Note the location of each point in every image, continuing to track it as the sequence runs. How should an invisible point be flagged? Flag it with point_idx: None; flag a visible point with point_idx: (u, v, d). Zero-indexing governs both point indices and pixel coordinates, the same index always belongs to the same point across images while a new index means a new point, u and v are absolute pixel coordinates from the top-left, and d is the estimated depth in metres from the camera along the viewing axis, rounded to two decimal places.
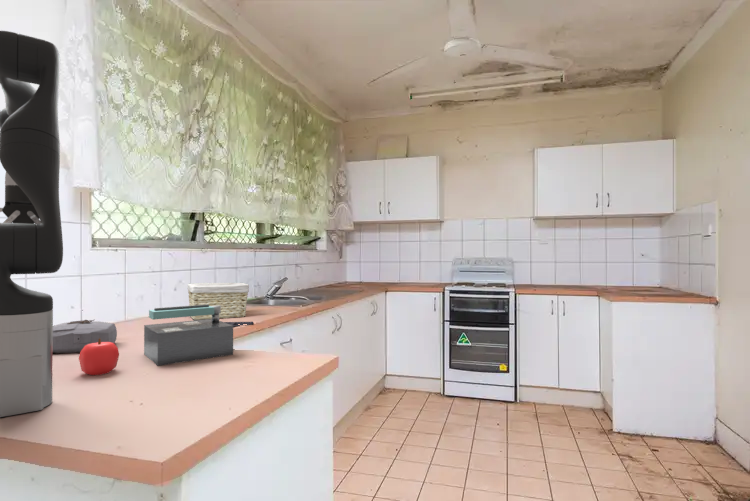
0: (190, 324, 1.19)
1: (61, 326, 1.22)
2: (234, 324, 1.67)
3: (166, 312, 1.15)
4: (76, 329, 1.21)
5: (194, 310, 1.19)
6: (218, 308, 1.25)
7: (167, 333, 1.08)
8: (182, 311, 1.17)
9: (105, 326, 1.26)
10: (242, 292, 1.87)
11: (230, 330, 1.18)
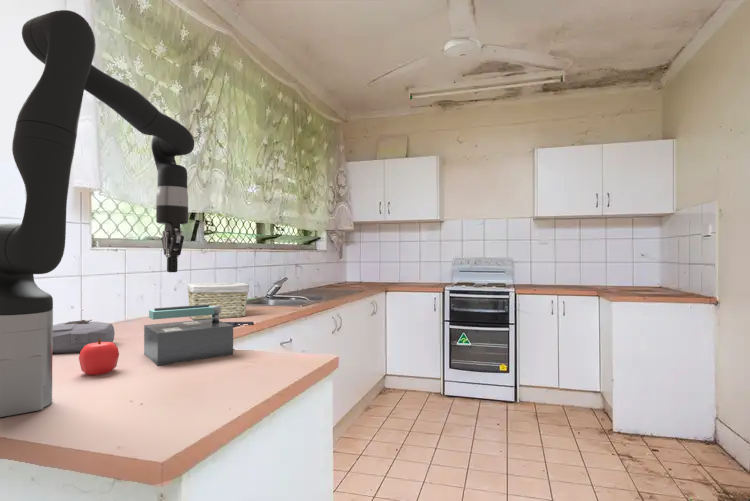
0: (190, 324, 1.19)
1: (58, 326, 1.22)
2: (234, 324, 1.67)
3: (166, 312, 1.15)
4: (74, 329, 1.21)
5: (194, 310, 1.19)
6: (218, 308, 1.25)
7: (167, 333, 1.08)
8: (182, 311, 1.17)
9: (103, 326, 1.26)
10: (242, 292, 1.88)
11: (230, 330, 1.18)
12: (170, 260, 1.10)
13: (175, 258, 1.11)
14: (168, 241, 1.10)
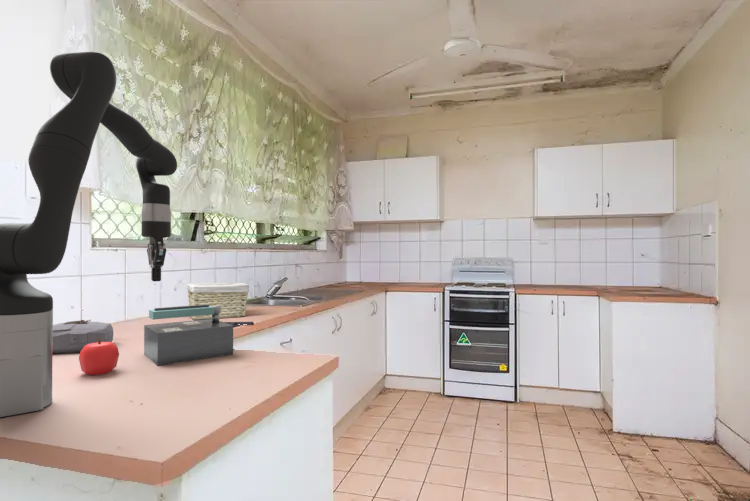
0: (190, 324, 1.19)
1: (57, 326, 1.22)
2: (234, 324, 1.67)
3: (166, 312, 1.15)
4: (72, 329, 1.21)
5: (194, 310, 1.19)
6: (218, 308, 1.25)
7: (167, 333, 1.08)
8: (182, 311, 1.17)
9: (102, 326, 1.26)
10: (242, 292, 1.88)
11: (230, 330, 1.18)
12: (154, 270, 1.22)
13: (159, 268, 1.22)
14: (152, 253, 1.21)
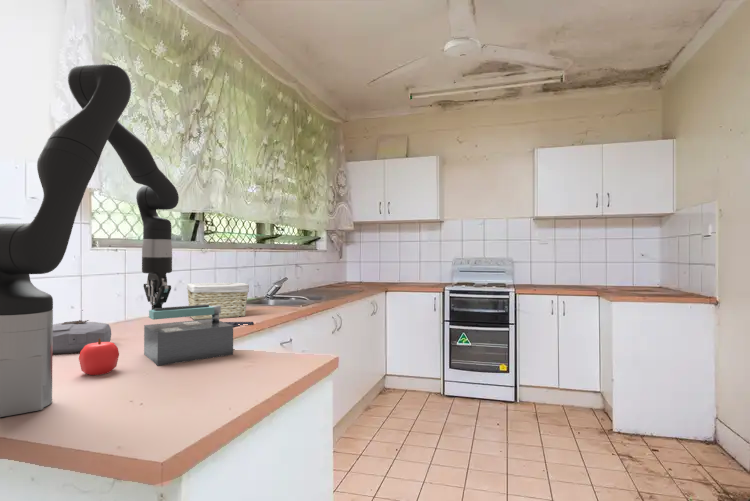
0: (190, 324, 1.19)
1: (55, 327, 1.21)
2: (234, 324, 1.67)
3: (166, 312, 1.15)
4: (71, 329, 1.21)
5: (194, 310, 1.19)
6: (218, 308, 1.25)
7: (167, 333, 1.08)
8: (182, 311, 1.17)
9: (100, 326, 1.26)
10: (242, 292, 1.88)
11: (230, 330, 1.18)
12: (155, 307, 1.19)
13: (160, 305, 1.19)
14: (154, 290, 1.18)
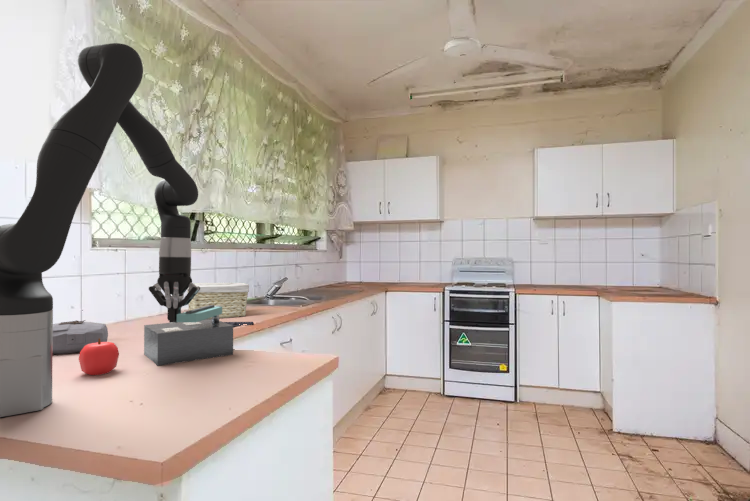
0: (190, 324, 1.19)
1: (53, 327, 1.20)
2: (234, 324, 1.67)
3: (201, 314, 1.12)
4: (69, 330, 1.20)
5: (214, 310, 1.19)
6: None
7: (167, 333, 1.08)
8: (208, 312, 1.16)
9: (98, 326, 1.26)
10: (242, 292, 1.89)
11: (230, 330, 1.18)
12: (177, 311, 1.11)
13: (180, 308, 1.12)
14: (178, 292, 1.10)
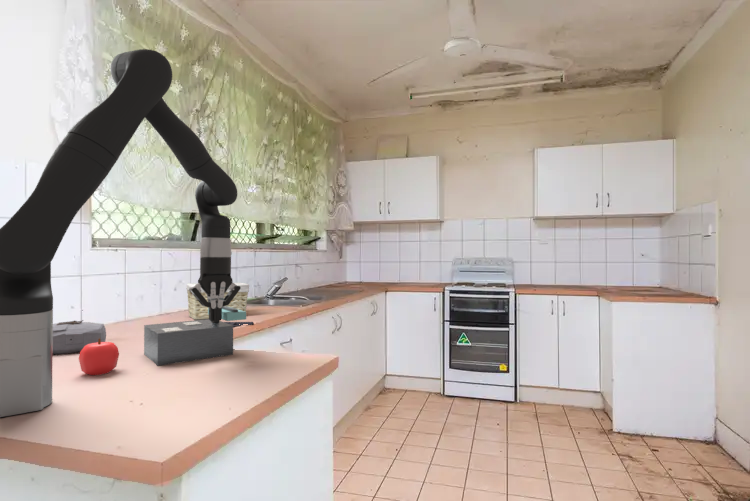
0: (190, 324, 1.19)
1: None
2: (234, 324, 1.67)
3: None
4: (68, 330, 1.20)
5: None
6: None
7: (167, 333, 1.08)
8: None
9: (96, 326, 1.26)
10: (242, 292, 1.89)
11: (230, 330, 1.18)
12: (220, 310, 1.12)
13: None
14: None
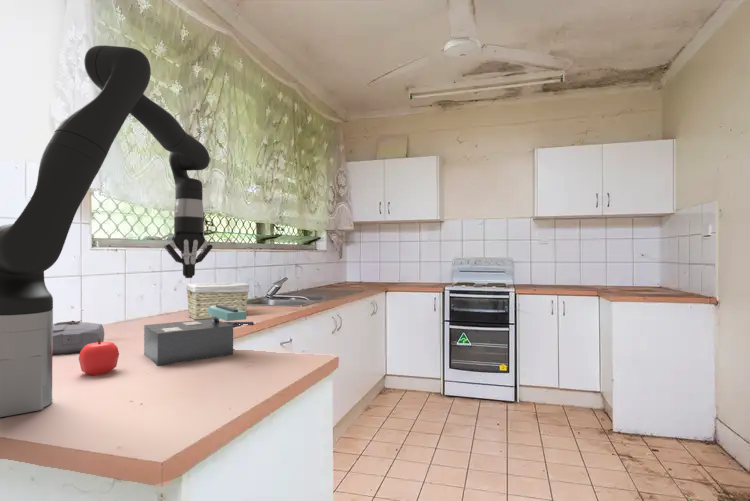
0: (190, 324, 1.19)
1: None
2: (234, 324, 1.67)
3: None
4: (65, 330, 1.20)
5: None
6: None
7: (167, 333, 1.08)
8: None
9: (94, 327, 1.25)
10: (243, 292, 1.89)
11: (230, 330, 1.18)
12: (193, 267, 1.21)
13: None
14: None
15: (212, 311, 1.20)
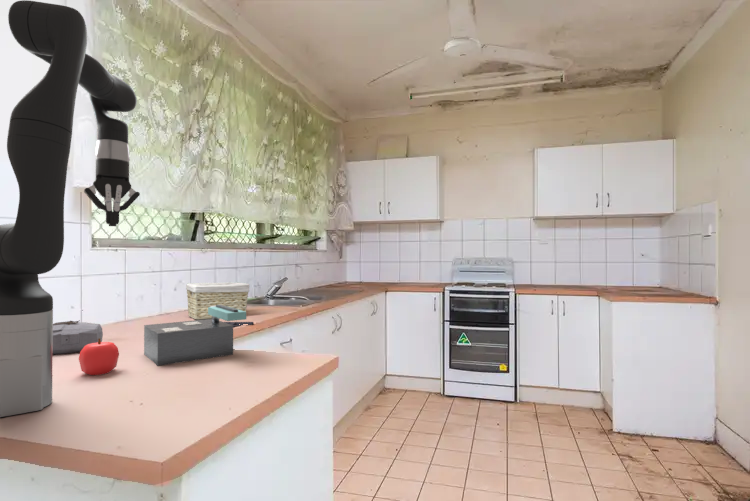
0: (190, 324, 1.19)
1: None
2: (234, 324, 1.66)
3: None
4: (63, 330, 1.20)
5: None
6: None
7: (167, 333, 1.08)
8: None
9: (93, 327, 1.25)
10: (243, 292, 1.90)
11: (230, 330, 1.18)
12: (117, 214, 1.13)
13: (118, 212, 1.14)
14: (120, 195, 1.13)
15: (212, 311, 1.20)
